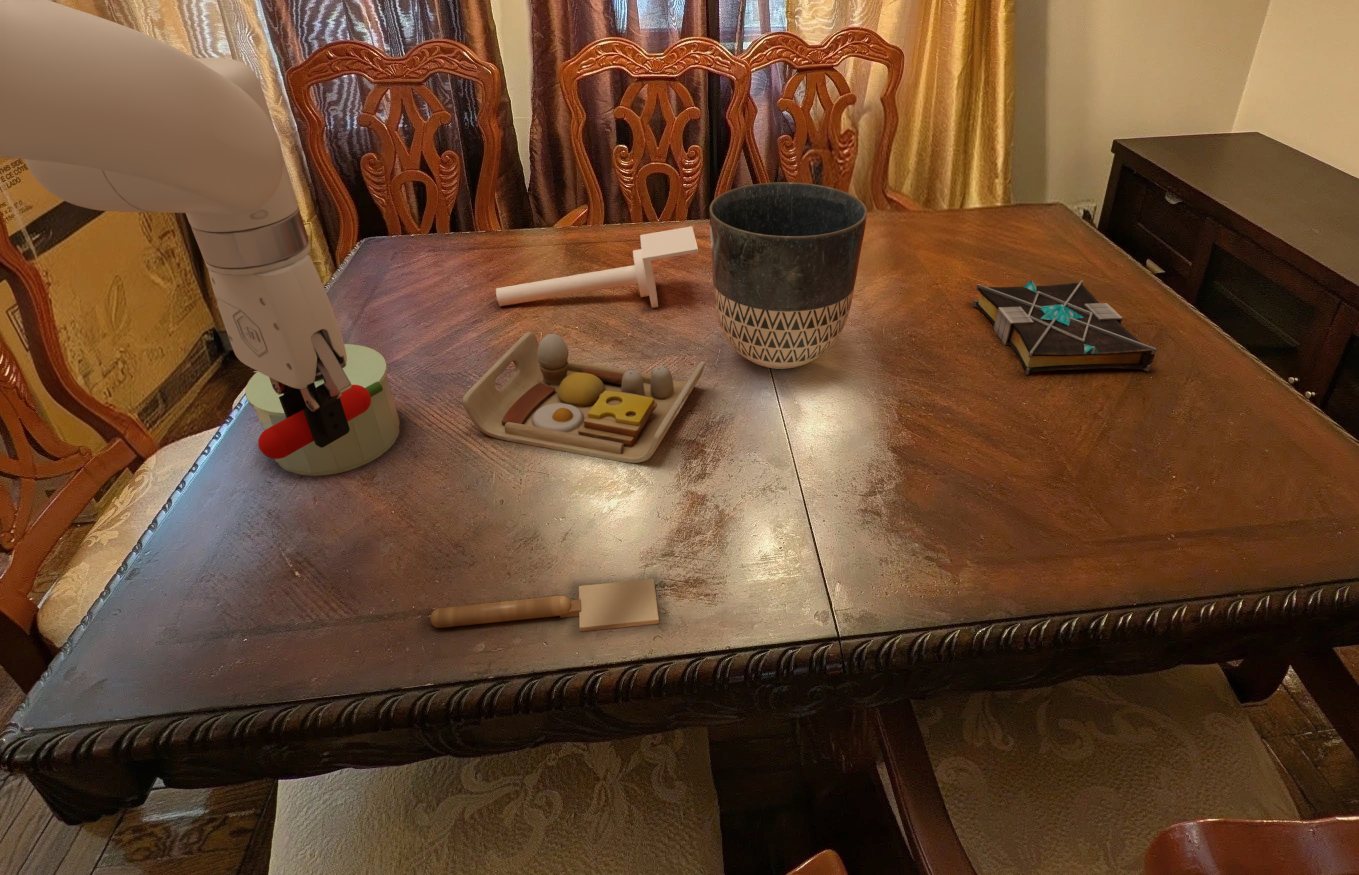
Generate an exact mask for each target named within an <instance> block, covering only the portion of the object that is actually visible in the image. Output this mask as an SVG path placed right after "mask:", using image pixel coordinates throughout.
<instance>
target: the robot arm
mask: <svg viewBox="0 0 1359 875" xmlns="http://www.w3.org/2000/svg"><path fill="white" fill-rule="evenodd" d="M270 112H271V111H270V108H269V106H268V103H267V100H266V97H265V93H264V90H263V88H262V85H261V82H260V79H259V77H258V76H257V74H256V72H255V71H254V70H253V69H252V68H251V67H250V66H249V65H248V64H247V63H244V62H243V61H240V60H237V59H233V58H227V57H197V58H194V57H193V56H191V55H189V54H187V53H185V52H184V51H182V50H180V49H178V48H176V47H175V46H173V45H170V44H168V43H166V42H164V41H162V40H160V39H158V38H155V37H153V36H150V35H149V34H146V33H144V32H141V31H138V30H136V29H133V28H131V27H128V26H126V25H123V24H120V23H117V22H115V21H111V20H109V19H107V18H103V17H100V16H97V15H95V14H92V13H88V12H86V11H82V10H79V9H76V8H73V7H70V6H67V5H64V4H61V3H58V2H55V1H52V0H0V158H2V159H3V158H4V159H14V160H15V159H17V160H24V162H25V166H26V167H27V169H28V170H29V172H30V174H31V175H32V176H33V177H34V179H35V180H36V182H38V183H39V185H41V186H42V188H44V189H45V190H47V191H48V192H49V193H50V194H51V195H54V196H55V197H57V198H58V199H60V200H62V201H64V202H67V203H69V204H72V205H74V206H77V207H80V208H84V209H89V210H95V211H101V212H102V211H103V212H117V213H148V214H149V213H150V214H151V213H153V214H154V213H155V214H157V213H168V214H169V213H171V214H173V213H174V214H185V215H186V218H187V221H188V223H189V225H190V227H191V231H192V233H193V236H194V238H195V241H196V244H197V246H198V249H199V251H200V253H201V256H202V259H203V261H204V264H205V266H206V268H207V270H208V271H207V272H208V275H209V280H210V283H211V287H212V288H211V289H212V291H213V295H214V298H215V302H216V305H217V308H218V311H219V314H220V317H221V319H222V322H223V326H224V328H225V331H226V334H227V337H228V340H229V343H230V346H231V348H232V350H233V353H234V355H235V357H236V358H237V359H238V360H239V361H240V362H241V363H242V364H244V365H245V366H247V367H249V368H251V369H252V370H255V371H256V372H260V373H262V374H264V375H266V376H268V377H269V378H270V381H271V384H272V387H273V389H274V391H275V392H276V393H277V394H278V395H281V394H284V395H282V396H280V397H279V400H280V402H281V405H282V408H283V410H284V413H285V416H286V418H288V417H290V416H292V415H294V414H296V413H298V412H300V411H301V410H303V411H304V414H305V417H306V420H307V422H308V425H309V428H310V431H311V434H312V436H313V439H314V442H315V444H316V445H317V446H319V447H321V448H323V447H325V446H327V445H328V444H330V443H332V442H333V441H335V440H337V439H339V438H340V437H342V436H344V435H346V434H347V433H348V432H349V430H350V428H349V425H348V422H347V418H346V415H345V412H344V409H343V406H342V403H341V400H340V397H342V393H344V392H345V391H347V390H349V389H351V388H352V385H351V382H350V381H349V379H348V377H347V376H346V374H345V372H344V370H343V369H342V368H344V367H345V366H346V364H347V355H346V350H345V346H344V344H345V343H344V339H343V336H342V333H341V329H340V326H339V323H338V320H337V318H336V315H335V312H334V310H333V306H332V304H331V302H330V299H329V296H328V294H327V291H326V289H325V286H324V284H323V282H322V279H321V277H320V275H319V273H318V269H317V268H316V265H315V264H314V262H313V260H312V256H310V255H309V254H310V251H311V248H312V247H311V242H310V240H309V237H308V236H309V235H308V233H307V230H306V227H305V223H304V219H303V217H302V213H301V210H300V206H299V203H298V200H297V197H296V193H295V190H294V187H293V184H292V181H291V178H290V173H289V171H288V168H287V164H286V160H285V158H284V155H283V150H282V145H281V142H280V139H279V136H278V133H277V131H276V129H275V126H274V122H273V119H272V116H271V113H270ZM316 366H317V367H316ZM321 378H323V380H324V383H323V384H321V385H319V386H317V387H316V386H315V384H314V382H315V381H317V380H319V379H321Z"/></svg>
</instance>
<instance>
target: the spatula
mask: <svg viewBox="0 0 1359 875" xmlns="http://www.w3.org/2000/svg"><path fill="white" fill-rule="evenodd" d="M658 610H659V609H658V602H657V594H656V585H655V579H654V578H647V579H635V580H626V581H615V582H605V583H594V584H588V585H587V584H584V585H579V586H578V599H569V597H567V596H565V595H554V596H545V597H535V598H525V599H514V600H505V601H504V600H503V601H495V602H483V603H473V604H465V605H453V606H444V607H437V608H435V609H434V610H432V612H431V613H430V616H429V621H430V623H431V625H432V626H433V627H435V628H437V629H445V628H452V627H463V626H472V625H474V626H475V625H482V624H492V623H501V622H502V623H504V622H512V621H522V620H523V621H524V620H532V619H533V620H534V619H543V618H551V617H560V618H561V619H562V618H571V617H572V618H573V617H579V618H578V619H579V620H578V624H579V625H578V626H579V631H580V633H581V632H589V631H600V630H608V629H609V630H610V629H619V628H630V627H640V626H650V625H656V624H657V625H658V624H660V619H659V611H658Z"/></svg>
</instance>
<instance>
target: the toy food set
mask: <svg viewBox="0 0 1359 875" xmlns="http://www.w3.org/2000/svg"><path fill="white" fill-rule="evenodd" d="M569 355H570V352H569V347H568V345H567V343H566V341H565V340H564V339H563V337H561V336H560V335H559V334H556V333H549V334H546V335H545V336H544V337H543V338H542V339H541V341H540V342H539V341H538V339H537V337H536V334H535V333H534V332H532V331H527V332H525V333H524V334H523V335H522V336H521V337H520V338H519V339H518V340H517V341H516V342H515V343H513V345H512V346H511V347H510V348H509V349H508V350H507V351H506V352H505V353H504V354H502V356H500V358H498V359H497V361H496V362H495V363H494V364H493V365H492V366H491V367H490V368H489V369H488V370H487V371H486V372H485V373H484V374H483V375H482V376H481V377H480V378H479V379H478V380H477V381H476V382H475V383H474V384H473V385H472V386H471V387H470V388H469V389H468V390H467V391H466V392H465V394H464V395H463V396H462V399H461V403H462V404H461V405H462V406H463V408H464V410H465V412H466V414H467V415H468V417H469V418H470V420H471V421H472V422H473V424H474V425H475V427H477V428H478V429H479V431H481V433H484V434H485V435H487V436H489V437H491V438H493V439H498V440H503V441H508V442H513V443H517V444H521V445H528V446H534V447H541V448H545V449H551V450H556V451H560V452H561V451H562V452H565V453H566V452H567V453H573V454H577V455H583V456H587V457H588V456H589V457H594V458H598V459H604V460H610V461H616V462H624V463H629V464H633V463H635V464H637V463H643V462H646V461H647V460H649V459H650V458H651V457H652V456H653V455H654V453H656V450H657V449H658V447H659V446H660V444H661V443H662V441H663V439H664V438H665V436H666V435H667V433H668V431H669V429H670V428H671V426H672V424H673V422H674V421H675V419H676V417H677V416H678V415H679V413H680V411H681V410H682V408H683V406H684V405H685V402H686V401H687V400H688V398H689V396H690V395H691V393H692V392H693V390H694V388H695V386H696V385H697V383H698V382H699V380H700V378H701V377H702V375H703V374H704V370H705V368H706V363H707V361H706V360H700V361H699V363H698V364H697V366H696V367H695V369H694V370H693V372H692V374H691V375H690V377H689V378H688V379H687V380H674V379H673V375H672V372H671V370H670V369H669V367H667V366H666V365H662V364H661V365H657V366H655V367H654V368H653V369H652V371H651V373H645V372H639V371H638V370H636V369H629V370H627V369H621V368H615V367H609V366H603V365H597V364H590V363H585V362H578V361H575V360H574V361H573V360H569V359H568V358H569ZM512 363H513V364H514V367H515V372H514V373H513V375H512V376H511V377H509V379H508V380H507V381H506V382H505V383H504V384H503V386H502V387H501V388H500V389H499V390H497V388H496V380H497V378H498V377H499V376H501V375H502V373H503V372H505V370H506V369H507V368H508V367H509V366H510V365H511V364H512Z"/></svg>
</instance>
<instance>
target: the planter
mask: <svg viewBox="0 0 1359 875" xmlns="http://www.w3.org/2000/svg"><path fill="white" fill-rule="evenodd" d="M708 208H709V210H708V211H709V213H708V214H709V234H710V237H709V238H710V250H711V252H710V254H711V273H712V288H713V301H714V302H713V303H714V310H715V314H716V318H717V322H718V325H719V327H720V330H721V332H722V335H723V336H724V338H725V340H726V341H727V343H728V344H729V345H730V346H731V347H732V348H733V349H734V350H735V351H736V352H737V353H738V354H739V355H741V357H743V358H745V359H746V360H747V361H749V362H752V363H754V364H755V365H758V366H761V367H765V368H769V369H776V370H786V369H794V368H798V367H801V366H804V365H806V364H809V363H811V362H813V361H815V360H816V359H818V358H819V357H821V356H822V355H824V354H825V353H827V351H828V350H830V349H831V347H833V345H834V344H835V343H836V342H837V340H838V339H839V337H840V336H841V334H842V331H843V329H844V328H845V325H846V323H847V321H848V317H849V315H850V311H851V307H852V302H853V296H854V290H855V285H856V281H857V276H858V269H859V265H860V264H859V263H860V257H861V251H862V246H863V242H864V237H865V230H866V224H867V217H868V209H867V208H868V207H866V204H865V203H864V202H863V201H862V200H861V199H860V198H858V197H856V196H855V195H853V194H850V193H849V192H847V191H843V190H841V189H839V188H833V187H831V186H825V185H821V184H820V185H819V184H814V183H805V182H792V181H791V182H790V181H784V182H782V181H780V182H779V181H778V182H777V181H776V182H763V183H756V184H749V185H744V186H740V187H736V188H733V189H730V190H728V191H725V192H723V193H721V194H719V195H718V196H717V197H715V198H714V199H713V200H712V201H711V203H710V205H709V207H708Z"/></svg>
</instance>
